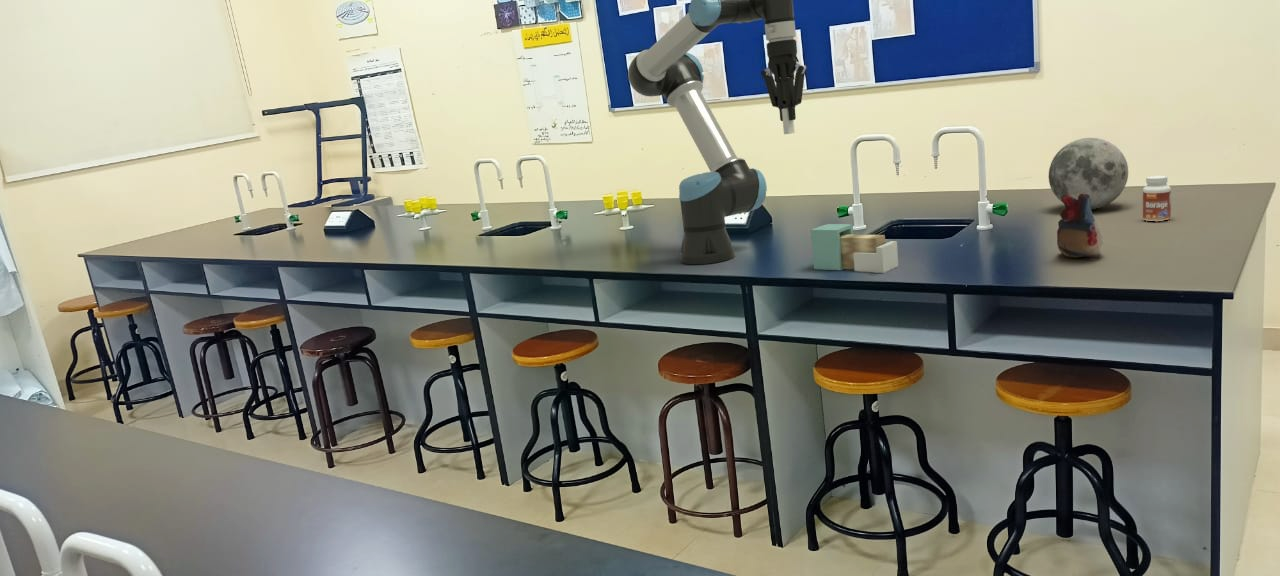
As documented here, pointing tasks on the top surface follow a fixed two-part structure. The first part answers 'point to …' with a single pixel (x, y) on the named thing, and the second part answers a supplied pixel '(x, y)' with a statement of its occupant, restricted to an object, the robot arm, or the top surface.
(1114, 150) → the moon model
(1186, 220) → the top surface
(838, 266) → the cap
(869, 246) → the wooden block
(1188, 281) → the top surface
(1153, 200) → the pill bottle
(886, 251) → the white stepped block
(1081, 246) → the anatomical model
